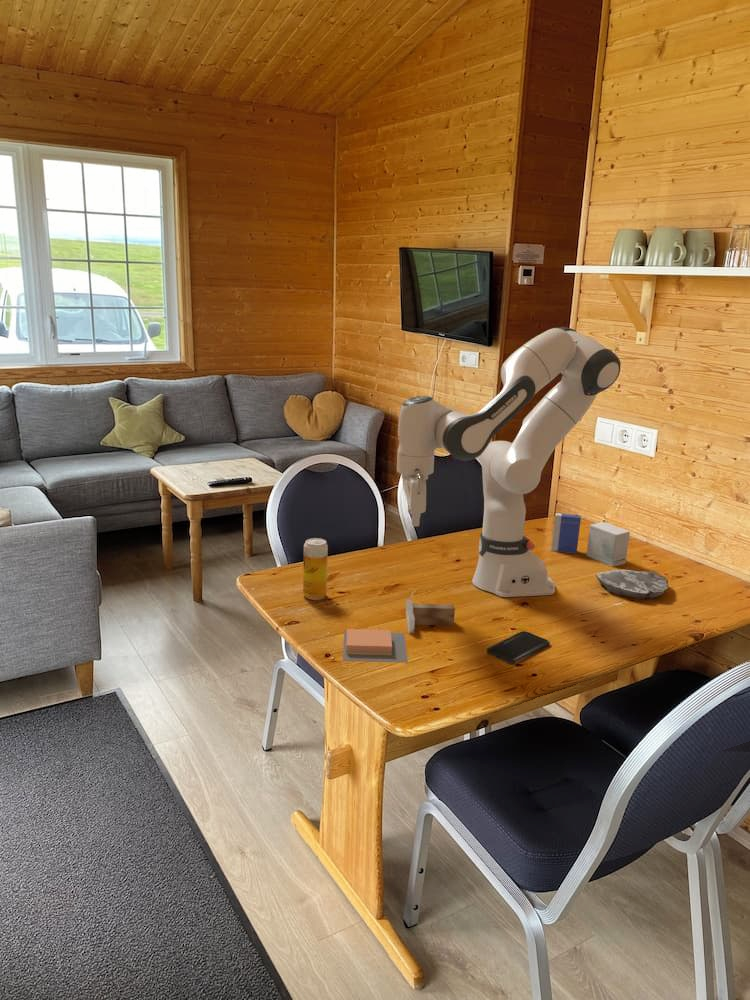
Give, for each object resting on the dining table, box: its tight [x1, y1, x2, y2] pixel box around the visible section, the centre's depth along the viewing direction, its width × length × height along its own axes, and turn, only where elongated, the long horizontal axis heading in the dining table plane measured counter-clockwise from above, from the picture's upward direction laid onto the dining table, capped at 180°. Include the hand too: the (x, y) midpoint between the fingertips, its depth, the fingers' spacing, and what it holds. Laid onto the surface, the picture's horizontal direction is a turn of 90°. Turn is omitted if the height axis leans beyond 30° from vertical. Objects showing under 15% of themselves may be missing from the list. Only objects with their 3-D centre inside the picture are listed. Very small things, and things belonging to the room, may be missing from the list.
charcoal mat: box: [342, 630, 408, 663], centre depth 172 cm, size 14×14×1 cm
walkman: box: [550, 512, 582, 554], centre depth 238 cm, size 8×3×12 cm, turn 75°
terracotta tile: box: [346, 628, 392, 655], centre depth 171 cm, size 2×8×10 cm
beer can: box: [302, 537, 329, 601], centre depth 196 cm, size 6×6×15 cm
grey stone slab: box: [595, 569, 669, 599], centre depth 211 cm, size 20×17×3 cm
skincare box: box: [586, 521, 631, 568], centre depth 232 cm, size 10×6×10 cm, turn 33°
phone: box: [486, 630, 551, 665], centre depth 175 cm, size 8×1×15 cm
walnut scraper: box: [405, 598, 456, 634], centre depth 184 cm, size 11×12×5 cm
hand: (413, 519), depth 187 cm, fingers open, 8 cm apart
